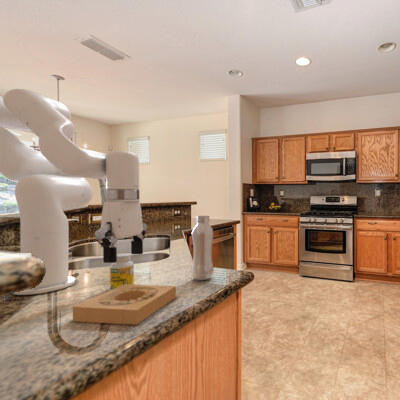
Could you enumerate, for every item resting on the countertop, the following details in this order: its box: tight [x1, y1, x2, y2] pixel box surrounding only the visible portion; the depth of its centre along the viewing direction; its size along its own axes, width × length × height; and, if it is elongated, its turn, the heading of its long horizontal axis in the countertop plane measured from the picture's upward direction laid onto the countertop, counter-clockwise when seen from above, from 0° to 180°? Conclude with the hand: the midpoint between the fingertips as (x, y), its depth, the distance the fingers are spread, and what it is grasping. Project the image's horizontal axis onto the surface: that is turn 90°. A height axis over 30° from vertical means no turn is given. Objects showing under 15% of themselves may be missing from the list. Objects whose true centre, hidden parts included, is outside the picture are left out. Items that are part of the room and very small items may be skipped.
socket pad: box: [72, 284, 177, 326], centre depth 59 cm, size 14×14×3 cm
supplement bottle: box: [109, 253, 135, 291], centre depth 70 cm, size 5×5×10 cm
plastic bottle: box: [191, 215, 215, 281], centre depth 80 cm, size 6×7×20 cm
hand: (124, 257), depth 70 cm, fingers open, 9 cm apart
